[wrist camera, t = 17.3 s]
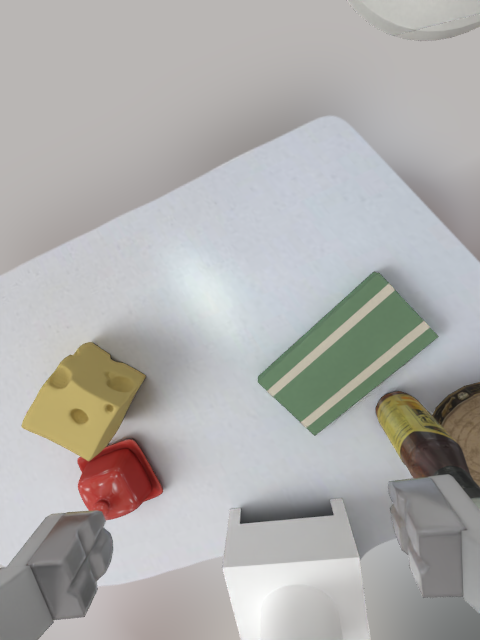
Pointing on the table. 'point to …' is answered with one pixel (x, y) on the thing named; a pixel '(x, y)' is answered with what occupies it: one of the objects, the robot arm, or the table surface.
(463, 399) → the wooden log slice
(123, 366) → the cheese
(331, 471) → the table surface
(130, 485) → the butter dish
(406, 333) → the towel
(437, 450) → the sauce bottle
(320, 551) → the paper towel holder
